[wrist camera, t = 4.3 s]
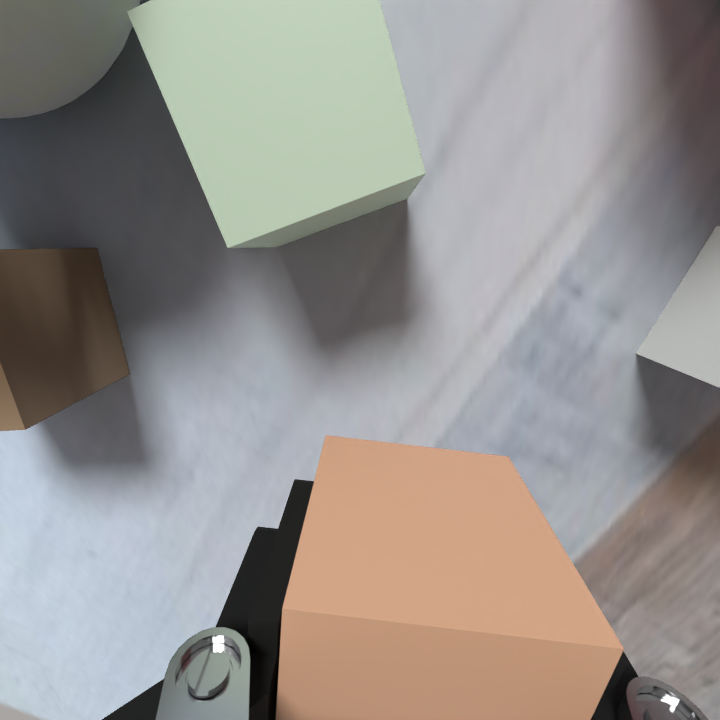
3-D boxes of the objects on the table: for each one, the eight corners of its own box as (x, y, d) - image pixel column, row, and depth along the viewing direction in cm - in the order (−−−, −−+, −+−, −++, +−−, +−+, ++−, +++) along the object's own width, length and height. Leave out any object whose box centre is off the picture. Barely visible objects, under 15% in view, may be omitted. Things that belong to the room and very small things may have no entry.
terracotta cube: (325, 435, 10) (282, 608, 5) (508, 456, 10) (624, 649, 5) (313, 574, 12) (271, 803, 7) (471, 593, 12) (536, 835, 7)
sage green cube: (220, 100, 13) (127, 11, 8) (361, 38, 12) (352, -99, 7) (277, 247, 14) (227, 248, 9) (407, 199, 13) (425, 173, 8)
